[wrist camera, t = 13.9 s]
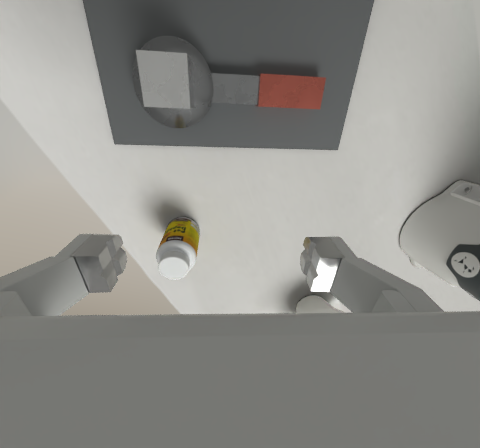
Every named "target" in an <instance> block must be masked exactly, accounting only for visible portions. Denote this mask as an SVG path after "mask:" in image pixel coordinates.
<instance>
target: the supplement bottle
mask: <svg viewBox="0 0 480 448" xmlns="http://www.w3.org/2000/svg"><path fill="white" fill-rule="evenodd" d="M199 235H200V230H199V227H198V225H197V224H196V223H195V222H194V221H193V220H191V219H189V218H185V217H180V218H176V219H174V220H172V221H171V222H170V223H169V224H168V226H167V228H166V231H165V233H164V236H163V238H162V241H161V243H160V245H159V248H158V250H157V253H156V259H157V262H158V264H159V265H158V270H159V272H160V274H161V275H162V276H163V277H165V278H167V279H171V280H178V279H181V278H183V277H185V276H186V275H187V273H188V270H190V269H191V268H192V267H193V266H194V264H195V262H196V257H197V250H198V243H199Z"/></svg>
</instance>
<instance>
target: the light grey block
mask: <svg viewBox="0 0 480 448" xmlns="http://www.w3.org/2000/svg"><path fill="white" fill-rule="evenodd" d="M136 55H137V62H138V69H139V76H140V82H141V89H142V96H143V103H144V107H160V108H183V109H192V108H195V98H194V78H193V63H192V61H191V59H190V58H189V56H188V54H187V53H176V52H161V51H146V50H136Z"/></svg>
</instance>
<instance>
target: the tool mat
mask: <svg viewBox="0 0 480 448" xmlns="http://www.w3.org/2000/svg"><path fill="white" fill-rule="evenodd" d="M83 3H84V8H85V12H86V17H87V21H88V26H89V31H90V35H91V40H92V44H93V49H94V53H95V58H96V62H97V67H98V71H99V76H100V80H101V85H102V89H103V94H104V99H105V103H106V108H107V112H108V117H109V121H110V126H111V130H112V135H113V139H114V144H123V145H162V146H201V147H239V148H278V149H316V150H338V147H339V143H340V139H341V135H342V130H343V126H344V122H345V118H346V114H347V110H348V106H349V102H350V97H351V93H352V89H353V85H354V81H355V77H356V73H357V69H358V65H359V60H360V56H361V52H362V48H363V44H364V40H365V36H366V32H367V27H368V23H369V19H370V15H371V11H372V7H373V3H374V0H83ZM159 36H175V37H178V38H181V39H183V40H185V41H187V42H189V43H190V44H192V45H193V46H194V47H195V48H196V49H197V50H198V51H199V52H200V53H201V54H202V56H203V57H204V59H205V60H206V62H207V64H208V66H209V69H210V72H211V73H219V74H236V75H253V76H258V75H259V74H277V75H294V76H310V77H326V81H325V86H324V92H323V97H322V102H321V107H320V109H301V108H279V107H257V106H255V105H251V104H230V103H211V106H210V108H209V110H208V112H207V114H206V115H205V116H204V117H203V118H202V119H201V120H200V121H199V122H197V123H196V124H194V125H192V126H190V127H186V128H171V127H167V126H165V125H162V124H161V123H159V122H157V121H156V120H154V119H153V118H152V117H151V116H150V115H149V114H148V113H147V112H146V111H145V110H144V108H143V107H142V105H141V104H140V102H139V100H138V98H137V96H136V93H135V90H134V85H133V65H134V61H135V58H136V56H137V55H136V50H140V49H141V48H142V47H143V46H144V45H145V44H146V43H147V42H148V41H150V40H152V39H153V38H156V37H159Z"/></svg>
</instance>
